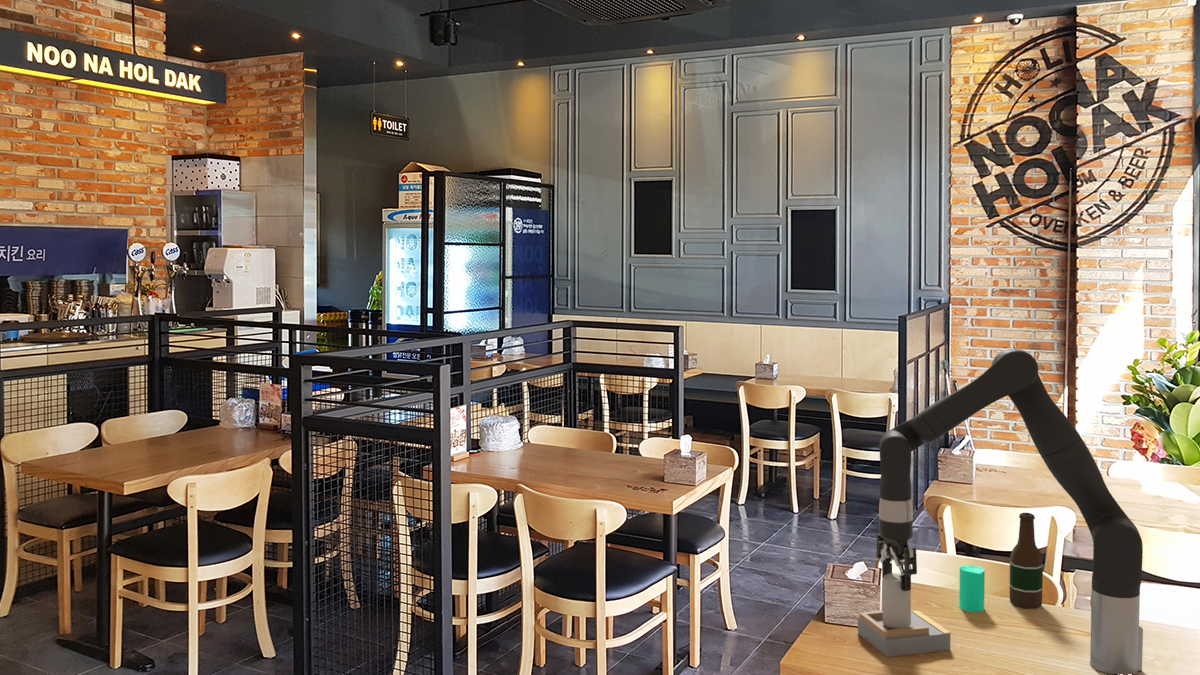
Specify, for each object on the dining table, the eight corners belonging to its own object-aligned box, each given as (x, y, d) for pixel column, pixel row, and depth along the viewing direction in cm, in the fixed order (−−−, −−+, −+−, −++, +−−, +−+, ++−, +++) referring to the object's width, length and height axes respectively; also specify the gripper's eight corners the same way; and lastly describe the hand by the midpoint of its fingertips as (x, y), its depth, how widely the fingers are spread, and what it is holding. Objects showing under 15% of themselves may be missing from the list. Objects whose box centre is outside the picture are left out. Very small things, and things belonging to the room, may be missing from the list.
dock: (917, 627, 228) (918, 605, 228) (950, 650, 215) (950, 626, 214) (857, 633, 225) (857, 611, 225) (886, 657, 211) (887, 633, 211)
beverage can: (912, 632, 215) (912, 581, 214) (883, 630, 217) (883, 580, 216) (909, 621, 221) (909, 572, 220) (881, 620, 223) (881, 571, 222)
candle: (960, 611, 238) (960, 565, 237) (958, 603, 244) (958, 558, 243) (985, 613, 236) (985, 567, 235) (983, 605, 242) (983, 560, 241)
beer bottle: (1008, 606, 240) (1009, 516, 239) (1010, 597, 247) (1011, 508, 245) (1041, 611, 237) (1042, 519, 235) (1042, 601, 244) (1044, 511, 242)
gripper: (926, 523, 211) (927, 593, 212) (894, 508, 225) (895, 573, 226) (896, 526, 209) (897, 596, 211) (866, 510, 223) (866, 576, 224)
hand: (896, 584), depth 218 cm, fingers open, 8 cm apart
